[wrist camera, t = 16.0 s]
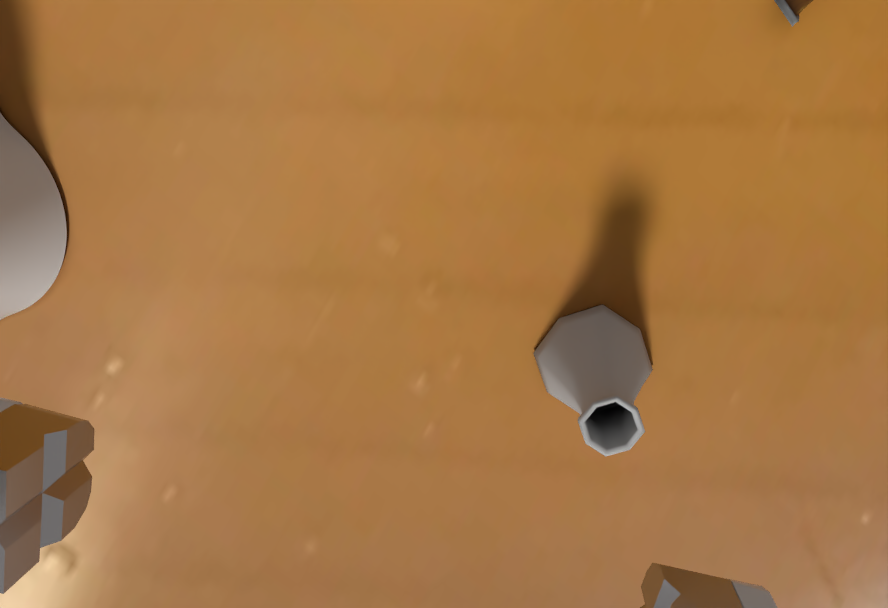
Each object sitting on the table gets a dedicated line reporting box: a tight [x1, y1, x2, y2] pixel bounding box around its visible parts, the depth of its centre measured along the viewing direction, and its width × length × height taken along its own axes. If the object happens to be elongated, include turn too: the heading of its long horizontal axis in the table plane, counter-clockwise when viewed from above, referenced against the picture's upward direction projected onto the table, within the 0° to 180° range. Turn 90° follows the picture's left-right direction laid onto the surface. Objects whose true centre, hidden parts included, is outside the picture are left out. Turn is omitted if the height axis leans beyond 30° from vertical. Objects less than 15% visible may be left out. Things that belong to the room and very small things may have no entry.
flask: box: [533, 305, 653, 456], centre depth 40 cm, size 7×7×10 cm
